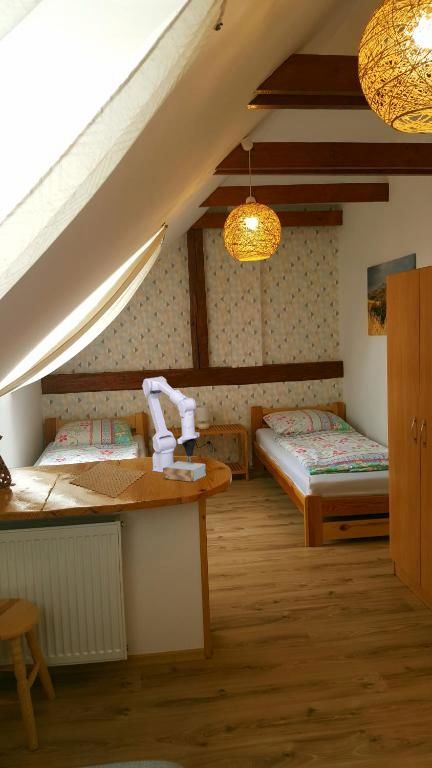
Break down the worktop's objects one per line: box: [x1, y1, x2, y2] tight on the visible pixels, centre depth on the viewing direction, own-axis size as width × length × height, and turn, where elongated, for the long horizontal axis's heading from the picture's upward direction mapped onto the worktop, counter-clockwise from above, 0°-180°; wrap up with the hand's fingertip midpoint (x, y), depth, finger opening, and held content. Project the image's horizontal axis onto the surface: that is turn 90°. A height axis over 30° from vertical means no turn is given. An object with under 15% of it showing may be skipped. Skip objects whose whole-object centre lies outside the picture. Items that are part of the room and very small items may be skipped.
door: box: [162, 468, 195, 483], centre depth 249 cm, size 15×2×5 cm, turn 62°
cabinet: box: [165, 460, 207, 482], centre depth 255 cm, size 15×10×5 cm, turn 59°
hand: (189, 456), depth 252 cm, fingers closed
